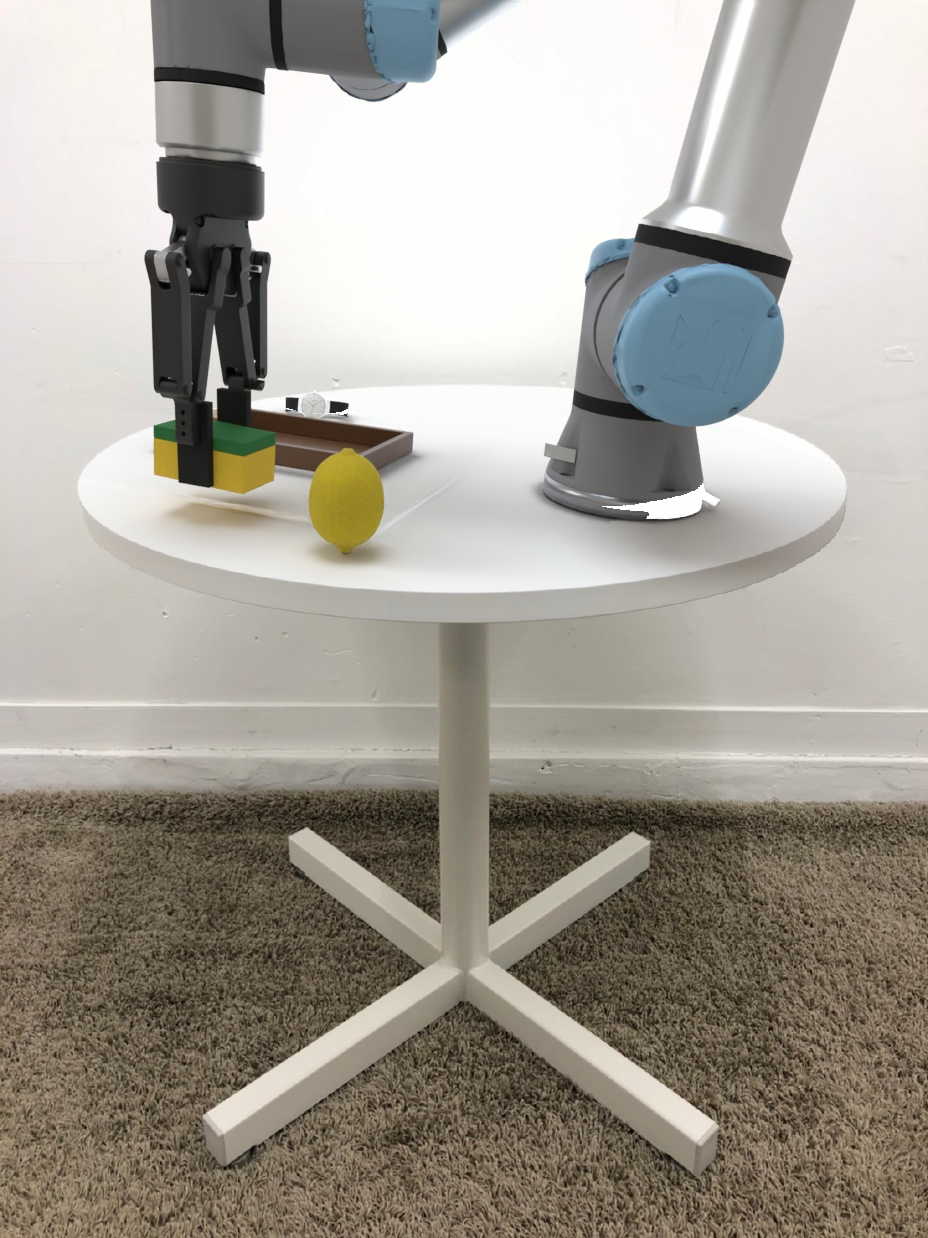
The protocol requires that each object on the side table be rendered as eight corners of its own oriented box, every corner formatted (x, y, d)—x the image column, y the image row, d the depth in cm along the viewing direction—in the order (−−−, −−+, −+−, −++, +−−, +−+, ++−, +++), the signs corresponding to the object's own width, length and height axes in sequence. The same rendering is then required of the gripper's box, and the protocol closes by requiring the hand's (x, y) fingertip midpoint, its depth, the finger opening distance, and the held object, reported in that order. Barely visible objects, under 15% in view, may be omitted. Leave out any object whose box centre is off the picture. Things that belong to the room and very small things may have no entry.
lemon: (305, 563, 70) (307, 455, 67) (310, 539, 75) (311, 437, 72) (382, 567, 71) (387, 459, 68) (381, 542, 76) (386, 441, 73)
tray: (412, 456, 103) (413, 432, 102) (360, 484, 91) (361, 457, 90) (233, 428, 109) (233, 405, 108) (162, 451, 97) (160, 426, 96)
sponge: (189, 462, 81) (189, 415, 80) (274, 480, 79) (276, 432, 78) (153, 475, 77) (153, 425, 75) (242, 494, 75) (244, 443, 73)
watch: (280, 419, 115) (280, 388, 114) (290, 412, 120) (290, 382, 118) (344, 425, 115) (345, 394, 114) (351, 417, 119) (352, 388, 118)
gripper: (231, 163, 78) (233, 448, 87) (82, 142, 62) (104, 494, 71) (315, 170, 76) (309, 461, 85) (184, 150, 60) (193, 511, 69)
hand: (216, 475), depth 78 cm, fingers closed on sponge, 5 cm apart
